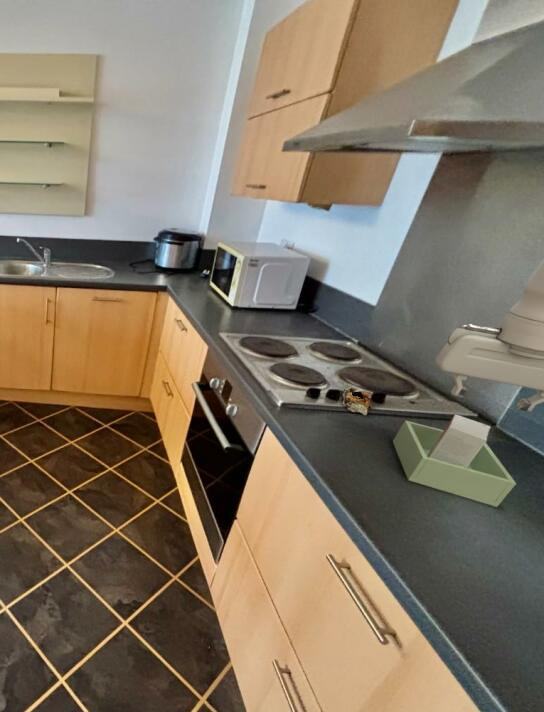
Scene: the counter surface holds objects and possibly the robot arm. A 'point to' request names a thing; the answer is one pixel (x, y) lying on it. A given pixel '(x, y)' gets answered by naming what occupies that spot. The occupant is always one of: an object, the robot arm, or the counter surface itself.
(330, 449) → the counter surface
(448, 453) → the small box
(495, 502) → the sorting bin
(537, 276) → the robot arm
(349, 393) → the pastry
